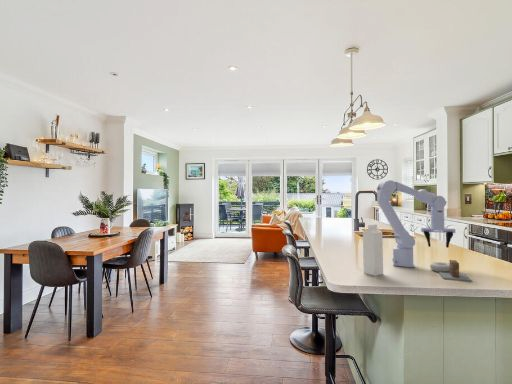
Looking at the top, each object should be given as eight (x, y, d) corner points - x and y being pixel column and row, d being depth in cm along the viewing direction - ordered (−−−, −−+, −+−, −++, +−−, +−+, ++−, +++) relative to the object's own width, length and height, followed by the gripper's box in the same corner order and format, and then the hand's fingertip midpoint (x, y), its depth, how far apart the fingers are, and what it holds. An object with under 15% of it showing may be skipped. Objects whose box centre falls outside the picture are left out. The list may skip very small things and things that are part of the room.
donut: (460, 264, 132) (444, 267, 129) (461, 272, 132) (444, 274, 129) (440, 260, 142) (424, 262, 139) (440, 267, 142) (425, 269, 139)
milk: (383, 274, 131) (382, 225, 132) (374, 276, 128) (373, 225, 129) (372, 271, 137) (371, 224, 137) (363, 273, 134) (362, 224, 134)
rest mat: (442, 278, 122) (442, 277, 122) (439, 273, 132) (439, 271, 132) (471, 281, 118) (471, 280, 118) (465, 275, 127) (465, 274, 127)
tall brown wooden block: (452, 277, 123) (452, 262, 123) (449, 273, 128) (449, 260, 129) (459, 277, 122) (458, 263, 122) (456, 274, 127) (455, 260, 128)
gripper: (421, 219, 146) (422, 247, 145) (456, 220, 140) (457, 249, 139) (420, 219, 152) (421, 245, 152) (453, 219, 146) (454, 246, 146)
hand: (438, 246), depth 146 cm, fingers open, 7 cm apart
